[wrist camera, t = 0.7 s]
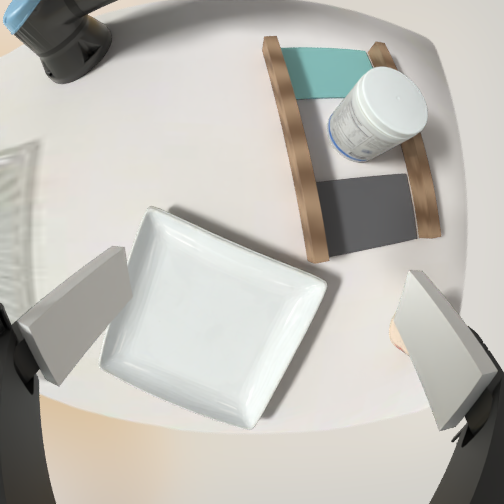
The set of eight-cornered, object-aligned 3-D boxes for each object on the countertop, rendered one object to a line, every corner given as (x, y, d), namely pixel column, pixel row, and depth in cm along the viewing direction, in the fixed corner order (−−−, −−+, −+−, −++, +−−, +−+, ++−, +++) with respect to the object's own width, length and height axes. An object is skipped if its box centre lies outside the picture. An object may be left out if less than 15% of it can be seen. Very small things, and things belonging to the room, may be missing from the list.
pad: (277, 49, 37) (278, 48, 37) (364, 52, 38) (365, 51, 38) (292, 99, 38) (293, 98, 38) (383, 99, 39) (384, 98, 38)
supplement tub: (358, 102, 39) (399, 59, 24) (388, 150, 39) (442, 121, 25) (312, 121, 38) (345, 74, 24) (345, 173, 39) (394, 146, 25)
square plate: (323, 278, 40) (331, 282, 36) (250, 420, 41) (252, 433, 37) (154, 206, 38) (146, 203, 35) (104, 359, 39) (95, 369, 36)
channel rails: (262, 50, 37) (264, 36, 33) (376, 53, 38) (384, 43, 34) (307, 260, 40) (315, 263, 36) (427, 236, 40) (441, 236, 36)
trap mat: (312, 183, 39) (313, 182, 39) (404, 173, 40) (406, 173, 39) (325, 257, 40) (326, 257, 39) (415, 238, 40) (417, 238, 40)
